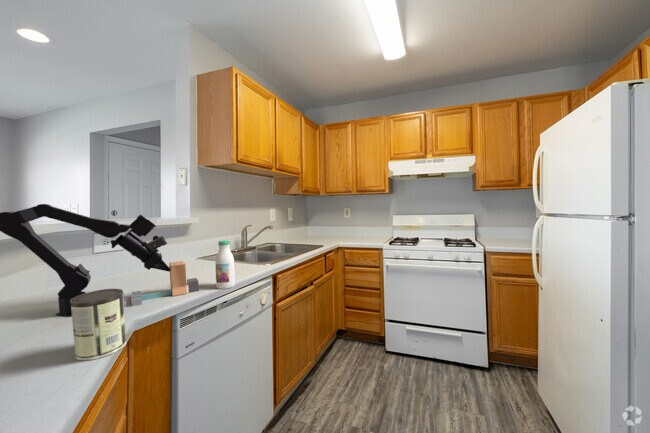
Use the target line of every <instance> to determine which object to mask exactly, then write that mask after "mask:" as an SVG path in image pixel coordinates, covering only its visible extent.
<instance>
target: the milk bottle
mask: <svg viewBox="0 0 650 433" xmlns="http://www.w3.org/2000/svg"><path fill="white" fill-rule="evenodd" d="M230 242H231V241H230V240H229V239H228V240H226V239H224V240H219V241H218V242H217V244H218V251H217V252H218V253H217V254H216V257H215V282H216V283H215V284H216V288H217V289H220V290H227V289H232V288H233V287H235V286H236V272H235V271H236V270H235V257H234V255H233V253H232V252H231V249H230V246H231V245H230V244H231V243H230Z"/></svg>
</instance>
